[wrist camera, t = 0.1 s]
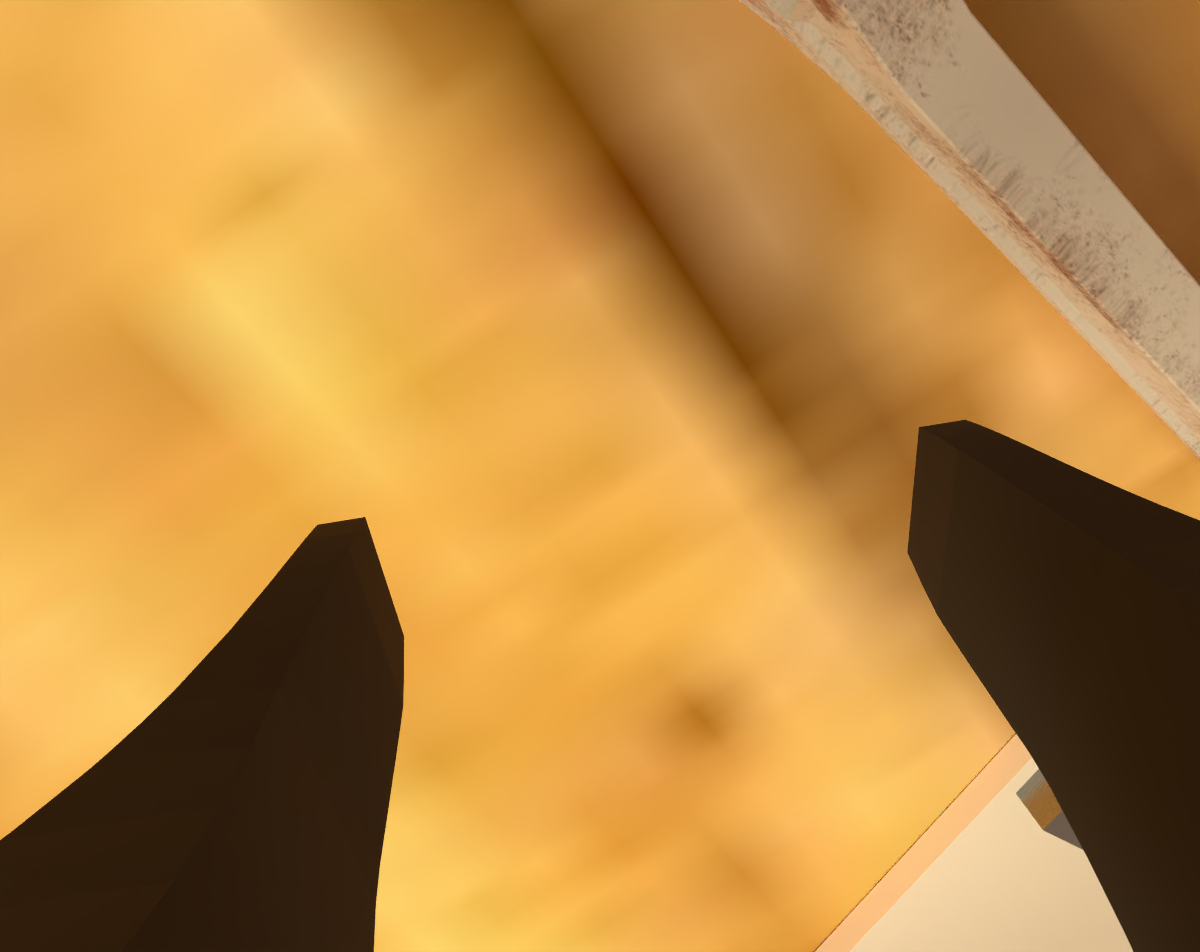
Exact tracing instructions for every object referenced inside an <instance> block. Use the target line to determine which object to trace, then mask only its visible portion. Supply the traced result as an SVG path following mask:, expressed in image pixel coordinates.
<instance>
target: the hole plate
mask: <svg viewBox="0 0 1200 952" xmlns="http://www.w3.org/2000/svg"><path fill="white" fill-rule="evenodd" d="M1038 769H1039V768H1038V766H1037V765H1036V763H1035V762H1034V760H1033V758H1032V757H1031V755H1030V753H1029V752H1028V750H1027V749H1026V747H1025V746H1024V744H1023V743H1022V741H1021V740H1020V738H1019V737H1018V735H1017V734H1015V736H1014V737H1013V738H1012V739H1011V740H1010V741H1009V742H1008V743H1007V744H1006V745H1005V746H1004V747H1003V749H1002V750H1001V751H1000V752H999V753H998V754H997V755H996V756H995V757H994V758H993V759H992V760H991V762H990V763H989V764H988V765H987V766H986V767H985V768H984V769H983V770H982V771H981V772H980V773H979V775H978V776H977V777H976V778H975V779H974V780H973V781H972V782H971V783H970V784H969V785H968V786H967V788H966V789H965V790H964V791H963V792H962V793H961V794H960V795H959V796H958V797H957V798H956V799H955V801H954V802H953V803H952V804H951V805H950V806H949V807H948V808H947V809H946V810H945V811H944V812H943V814H942V815H941V816H940V817H939V818H938V819H937V820H936V821H935V822H934V823H933V824H932V825H931V826H930V828H929V829H928V830H927V831H926V832H925V833H924V834H923V835H922V836H921V837H920V838H919V839H918V841H917V842H916V843H915V844H914V845H913V846H912V847H911V848H910V849H909V850H908V851H907V852H906V854H905V855H904V856H903V857H902V858H901V859H900V860H899V861H898V862H897V863H896V864H895V865H894V867H893V868H892V869H891V870H890V871H889V872H888V873H887V874H886V875H885V876H884V877H883V878H882V880H881V881H880V882H879V883H878V884H877V885H876V886H875V887H874V888H873V889H872V890H871V891H870V893H869V894H868V895H867V896H866V897H865V898H864V899H863V900H862V901H861V902H860V903H859V904H858V906H857V907H856V908H855V909H854V910H853V911H852V912H851V913H850V914H849V915H848V916H847V917H846V919H845V920H844V921H843V922H842V923H841V924H840V925H839V926H838V927H837V928H836V929H835V930H834V932H833V933H832V934H831V935H830V936H829V937H828V938H827V939H826V940H825V941H824V942H823V943H822V945H821V946H820V947H819V948H818V949H817V950H816V951H815V952H1133V950H1132V948H1131V946H1130V943H1129V941H1128V939H1127V937H1126V935H1125V933H1124V931H1123V929H1122V927H1121V925H1120V923H1119V921H1118V919H1117V917H1116V915H1115V913H1114V910H1113V908H1112V906H1111V904H1110V902H1109V900H1108V898H1107V896H1106V894H1105V892H1104V890H1103V888H1102V886H1101V884H1100V882H1099V880H1098V878H1097V876H1096V874H1095V872H1094V870H1093V868H1092V866H1091V864H1090V862H1089V860H1088V858H1087V856H1086V854H1085V852H1084V850H1082V849H1080V848H1078V847H1076V846H1074V845H1072V844H1070V843H1068V842H1066V841H1064V840H1062V839H1060V838H1058V837H1056V836H1054V835H1052V834H1050V833H1048V832H1045V831H1043V830H1042V828H1041V827H1040V826H1039V824H1038V823H1037V821H1036V820H1035V819H1034V817H1033V816H1032V815H1031V813H1030V812H1029V811H1028V809H1027V808H1026V807H1025V805H1024V804H1023V802H1022V801H1021V800H1020V798H1019V797H1018V796H1017V794H1016V792H1017V791H1018V790H1019V789H1020V788H1021V787H1022V786H1023V785H1024V784H1025V783H1026V782H1027V781H1028V780H1029V779H1030V778H1031V776H1032V775H1033V774H1034V773H1035V772H1036V771H1037V770H1038Z"/></svg>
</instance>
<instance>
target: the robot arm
mask: <svg viewBox="0 0 1200 952" xmlns="http://www.w3.org/2000/svg"><path fill="white" fill-rule="evenodd" d="M908 554H909V557H910V559H911V561H912V563H913V565H914V567H915V570H916V572H917V574H918V576H919V578H920V581H921V583H922V585H923V587H924V589H925V591H926V593H927V595H928V597H929V599H930V601H931V603H932V605H933V607H934V609H935V611H936V613H937V615H938V617H939V618H940V620H941V621H942V623H943V625H944V626H945V628H946V629H947V631H948V632H949V634H950V635H951V637H952V638H953V640H954V641H955V643H956V644H957V646H958V648H959V649H960V651H961V652H962V654H963V655H964V657H965V658H966V660H967V661H968V663H969V664H970V666H971V667H972V669H973V670H974V672H975V673H976V675H977V676H978V678H979V679H980V681H981V682H982V683H983V685H984V686H985V688H986V689H987V691H988V692H989V694H990V695H991V697H992V698H993V700H994V701H995V703H996V704H997V706H998V707H999V709H1000V710H1001V712H1002V713H1003V715H1004V716H1005V718H1006V719H1007V721H1008V722H1009V724H1010V725H1011V727H1012V728H1013V730H1014V731H1015V732H1016V734H1017V735H1018V737H1019V738H1020V740H1021V741H1022V743H1023V744H1024V746H1025V747H1026V749H1027V750H1028V752H1029V753H1030V755H1031V757H1032V758H1033V760H1034V762H1035V763H1036V765H1037V766H1038V768H1039V770H1040V771H1041V773H1042V775H1043V776H1044V778H1045V780H1046V781H1047V783H1048V784H1049V786H1050V788H1051V790H1052V792H1053V794H1054V796H1055V797H1056V799H1057V801H1058V803H1059V805H1060V807H1061V809H1062V811H1063V813H1064V814H1065V816H1066V818H1067V820H1068V822H1069V824H1070V826H1071V828H1072V830H1073V831H1074V833H1075V835H1076V837H1077V839H1078V841H1079V843H1080V845H1081V847H1082V849H1083V850H1084V852H1085V854H1086V856H1087V858H1088V860H1089V862H1090V864H1091V866H1092V868H1093V870H1094V872H1095V874H1096V876H1097V878H1098V880H1099V882H1100V884H1101V886H1102V888H1103V890H1104V892H1105V894H1106V896H1107V898H1108V900H1109V902H1110V904H1111V906H1112V908H1113V910H1114V913H1115V915H1116V917H1117V919H1118V921H1119V923H1120V925H1121V927H1122V929H1123V931H1124V933H1125V935H1126V937H1127V939H1128V941H1129V943H1130V946H1131V948H1132V950H1133V952H1200V521H1199V520H1197V519H1194V518H1192V517H1189V516H1187V515H1184V514H1182V513H1179V512H1177V511H1174V510H1172V509H1169V508H1167V507H1164V506H1161V505H1159V504H1156V503H1154V502H1152V501H1149V500H1147V499H1145V498H1142V497H1140V496H1137V495H1135V494H1133V493H1130V492H1128V491H1126V490H1123V489H1121V488H1119V487H1116V486H1114V485H1112V484H1110V483H1107V482H1105V481H1103V480H1101V479H1098V478H1096V477H1094V476H1092V475H1090V474H1087V473H1085V472H1083V471H1081V470H1079V469H1076V468H1074V467H1072V466H1070V465H1068V464H1065V463H1063V462H1061V461H1059V460H1057V459H1055V458H1052V457H1050V456H1048V455H1046V454H1044V453H1042V452H1039V451H1037V450H1035V449H1033V448H1031V447H1029V446H1026V445H1024V444H1022V443H1020V442H1018V441H1016V440H1013V439H1011V438H1009V437H1007V436H1004V435H1002V434H1000V433H998V432H995V431H993V430H991V429H988V428H986V427H983V426H981V425H978V424H975V423H973V422H970V421H967V420H961V421H955V422H949V423H943V424H937V425H930V426H924V427H919V434H918V445H917V455H916V466H915V477H914V488H913V499H912V509H911V520H910V531H909V542H908ZM403 687H404V635H403V632H402V629H401V626H400V623H399V620H398V617H397V614H396V611H395V607H394V604H393V601H392V598H391V595H390V592H389V589H388V586H387V583H386V580H385V577H384V574H383V571H382V567H381V564H380V561H379V558H378V555H377V552H376V549H375V546H374V543H373V540H372V537H371V534H370V531H369V527H368V524H367V521H366V518H365V517H363V518H357V519H351V520H344V521H338V522H332V523H326V524H320V525H317V526H316V527H315V528H314V529H313V531H312V532H311V533H310V534H309V535H308V536H307V538H306V539H305V540H304V541H303V542H302V544H301V545H300V546H299V547H298V548H297V550H296V551H295V552H294V553H293V555H292V556H291V557H290V558H289V560H288V561H287V562H286V563H285V565H284V566H283V567H282V568H281V570H280V571H279V572H278V573H277V575H276V576H275V577H274V578H273V580H272V581H271V582H270V583H269V584H268V586H267V587H266V588H265V589H264V590H263V592H262V593H261V594H260V595H259V596H258V598H257V599H256V600H255V601H254V602H253V604H252V605H251V606H250V607H249V608H248V610H247V611H246V612H245V613H244V614H243V616H242V617H241V618H240V619H239V620H238V622H237V623H236V624H235V625H234V626H233V627H232V629H231V630H230V631H229V632H228V633H227V634H226V635H225V636H224V637H223V639H222V640H221V641H220V642H219V643H218V644H217V645H216V646H215V647H214V648H213V649H212V650H211V652H210V653H209V654H208V655H207V656H206V657H205V658H204V659H203V660H202V661H201V662H200V663H199V665H198V666H197V667H196V668H195V669H194V670H193V671H192V672H191V673H190V674H189V675H188V676H187V677H186V679H185V680H184V681H183V682H182V683H181V684H180V685H179V686H178V687H177V688H176V689H175V690H174V691H173V692H172V693H171V694H170V695H169V696H168V697H167V698H166V699H165V700H164V701H163V702H162V703H161V704H160V705H159V706H158V707H157V708H156V709H155V710H154V711H153V712H152V713H151V714H150V715H149V716H148V717H147V718H146V719H145V720H144V721H143V722H142V723H141V724H140V725H138V726H137V727H136V728H135V729H134V730H133V731H132V732H131V733H130V734H129V735H127V736H126V737H125V738H124V739H123V740H122V741H121V742H120V743H119V744H118V745H116V746H115V747H114V748H113V749H112V750H111V751H110V752H109V753H108V754H107V755H105V756H104V757H103V758H102V759H101V760H100V761H99V762H97V763H96V764H95V765H94V766H93V767H92V768H90V769H89V770H88V771H87V772H86V773H84V774H83V775H82V776H81V777H79V778H78V779H77V780H76V781H74V782H73V783H72V784H71V785H69V786H68V787H67V788H66V789H64V790H63V791H62V792H61V793H59V794H58V795H57V796H56V797H54V798H53V799H52V800H51V801H49V802H48V803H47V804H46V805H44V806H43V807H42V808H41V809H39V810H38V811H37V812H36V813H34V814H33V815H32V816H31V817H29V818H28V819H27V820H26V821H24V822H23V823H22V824H21V825H19V826H18V827H17V828H16V829H15V830H13V831H12V832H11V833H9V834H8V835H7V836H5V837H4V838H3V839H1V840H0V952H374V931H375V908H376V896H377V887H378V877H379V868H380V860H381V854H382V847H383V840H384V834H385V827H386V820H387V814H388V807H389V800H390V793H391V787H392V780H393V773H394V767H395V760H396V753H397V746H398V739H399V732H400V725H401V717H402V710H403Z"/></svg>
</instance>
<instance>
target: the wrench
mask: <svg viewBox="0 0 1200 952" xmlns="http://www.w3.org/2000/svg"><path fill="white" fill-rule="evenodd" d="M739 1H741V2H742V3H743V4H744V5H746V6H747V7H748V8H749V9H751V10H752V11H753V12H754V13H756V14H757V15H758V16H759V17H761V18H762V19H763V20H765V21H766V22H767V23H768V24H770V25H771V26H772V27H773V28H775V29H776V30H777V31H778V32H780V33H781V34H782V35H783V36H784V37H785V38H786V39H788V40H789V41H790V42H791V43H792V44H793V45H794V46H795V47H797V48H798V49H799V50H800V51H801V52H802V53H803V54H805V55H806V56H807V57H808V58H809V59H810V60H811V61H813V62H814V63H815V64H816V65H817V66H818V67H819V68H820V69H822V70H823V71H824V72H825V73H826V74H827V75H828V76H830V77H831V78H832V79H833V80H834V81H835V82H836V83H838V84H839V85H840V86H841V87H842V88H843V89H844V90H845V91H846V92H847V93H848V94H849V95H850V96H851V97H852V98H853V99H854V101H855V102H856V103H857V104H858V105H859V106H860V107H861V108H862V109H863V110H864V111H865V112H866V113H867V114H868V115H869V116H870V117H871V118H872V119H873V120H874V121H875V122H876V123H877V124H878V125H879V126H880V127H881V128H882V129H883V130H884V131H885V132H886V133H887V134H888V135H889V136H890V137H891V138H892V140H893V141H894V142H895V143H896V144H897V145H898V146H899V147H900V148H901V149H902V150H903V151H904V152H905V153H906V154H907V155H908V156H909V157H910V158H911V159H912V160H913V161H914V162H915V163H916V164H917V165H918V166H919V167H920V168H921V169H922V170H923V171H924V172H925V173H926V174H927V175H928V176H929V177H930V179H931V180H932V181H933V182H934V183H935V184H936V185H937V186H938V187H939V188H940V189H941V190H942V191H943V192H944V193H945V194H946V195H947V196H948V197H949V198H950V199H951V200H952V201H953V202H954V204H955V205H956V206H957V207H958V208H959V209H960V210H961V211H962V212H963V213H964V214H965V215H966V216H967V217H968V218H969V219H970V220H971V221H972V222H973V223H974V224H975V225H976V227H977V228H978V229H979V230H980V231H981V232H982V233H983V234H984V235H985V236H986V237H987V238H988V239H989V240H990V241H991V242H992V243H993V244H994V245H995V246H996V247H997V248H998V250H999V251H1000V252H1001V253H1002V254H1003V255H1004V256H1005V257H1006V258H1007V259H1008V260H1009V261H1010V262H1011V263H1012V264H1013V265H1014V266H1015V267H1016V268H1017V269H1018V270H1019V271H1020V273H1021V274H1022V275H1023V276H1024V277H1025V278H1026V279H1027V280H1028V281H1029V282H1030V283H1031V284H1032V285H1033V286H1034V287H1035V288H1036V289H1037V290H1038V291H1039V292H1040V293H1041V294H1042V296H1043V297H1044V298H1045V299H1046V300H1047V301H1048V302H1049V303H1050V304H1051V305H1052V306H1053V307H1054V308H1055V309H1056V310H1057V311H1058V312H1059V313H1060V314H1061V315H1062V316H1063V317H1064V319H1065V320H1066V321H1067V322H1068V323H1069V324H1070V325H1071V326H1072V327H1073V328H1074V329H1075V330H1076V331H1077V332H1078V333H1079V334H1080V335H1081V336H1082V337H1083V338H1084V339H1085V340H1086V341H1087V342H1088V344H1089V345H1090V346H1091V347H1092V348H1093V349H1094V350H1095V351H1096V352H1097V353H1098V354H1099V355H1100V356H1101V357H1102V358H1103V359H1104V360H1105V361H1106V362H1107V363H1108V364H1109V365H1110V366H1111V367H1112V368H1113V369H1114V371H1115V372H1116V373H1117V374H1118V375H1119V376H1120V377H1121V378H1122V379H1123V380H1124V381H1125V382H1126V383H1127V384H1128V385H1129V386H1130V387H1131V388H1132V389H1133V390H1134V391H1135V392H1136V393H1137V394H1138V395H1139V396H1140V398H1141V399H1142V400H1143V401H1144V402H1145V403H1146V404H1147V405H1148V406H1149V407H1150V408H1151V409H1152V410H1153V411H1154V412H1155V413H1156V414H1157V415H1158V416H1159V417H1160V418H1161V419H1162V420H1163V421H1164V422H1165V424H1166V425H1167V426H1168V427H1169V428H1170V429H1171V430H1172V431H1173V432H1174V433H1175V434H1176V435H1177V436H1178V437H1179V438H1180V439H1181V440H1182V441H1183V442H1184V444H1185V445H1186V446H1187V447H1188V448H1189V449H1190V450H1191V451H1192V452H1193V453H1194V454H1195V455H1196V456H1197V457H1198V458H1199V459H1200V285H1199V284H1198V282H1197V281H1196V280H1195V279H1194V278H1193V276H1192V275H1191V274H1190V273H1189V272H1188V270H1187V269H1186V268H1185V267H1184V266H1183V264H1182V263H1181V262H1180V261H1179V260H1178V258H1177V257H1176V256H1175V255H1174V254H1173V253H1172V251H1171V250H1170V249H1169V248H1168V247H1167V245H1166V244H1165V243H1164V242H1163V241H1162V239H1161V238H1160V237H1159V236H1158V235H1157V233H1156V232H1155V231H1154V230H1153V229H1152V227H1151V226H1150V225H1149V224H1148V223H1147V221H1146V220H1145V219H1144V218H1143V217H1142V215H1141V214H1140V213H1139V212H1138V211H1137V210H1136V208H1135V207H1134V206H1133V205H1132V204H1131V202H1130V201H1129V200H1128V199H1127V198H1126V196H1125V195H1124V194H1123V193H1122V192H1121V190H1120V189H1119V188H1118V187H1117V186H1116V184H1115V183H1114V182H1113V181H1112V180H1111V178H1110V177H1109V176H1108V175H1107V174H1106V172H1105V171H1104V170H1103V169H1102V168H1101V167H1100V165H1099V164H1098V163H1097V162H1096V161H1095V159H1094V158H1093V157H1092V156H1091V155H1090V153H1089V152H1088V151H1087V150H1086V149H1085V147H1084V146H1083V145H1082V144H1081V143H1080V141H1079V140H1078V139H1077V138H1076V137H1075V135H1074V134H1073V133H1072V132H1071V131H1070V129H1069V128H1068V127H1067V126H1066V125H1065V124H1064V122H1063V121H1062V120H1061V119H1060V118H1059V116H1058V115H1057V114H1056V113H1055V112H1054V110H1053V109H1052V108H1051V107H1050V106H1049V104H1048V103H1047V102H1046V101H1045V100H1044V98H1043V97H1042V96H1041V95H1040V94H1039V92H1038V91H1037V90H1036V89H1035V88H1034V86H1033V85H1032V84H1031V83H1030V82H1029V81H1028V79H1027V78H1026V77H1025V76H1024V75H1023V73H1022V72H1021V71H1020V70H1019V69H1018V67H1017V66H1016V65H1015V64H1014V63H1013V61H1012V60H1011V59H1010V58H1009V57H1008V55H1007V54H1006V53H1005V52H1004V51H1003V49H1002V48H1001V47H1000V46H999V45H998V43H997V42H996V41H995V40H994V39H993V38H992V36H991V35H990V34H989V33H988V32H987V30H986V29H985V28H984V27H983V26H982V24H981V23H980V22H979V21H978V20H977V18H976V17H975V16H974V15H973V14H972V12H971V11H970V9H969V8H968V6H967V4H966V3H965V1H964V0H739Z"/></svg>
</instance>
